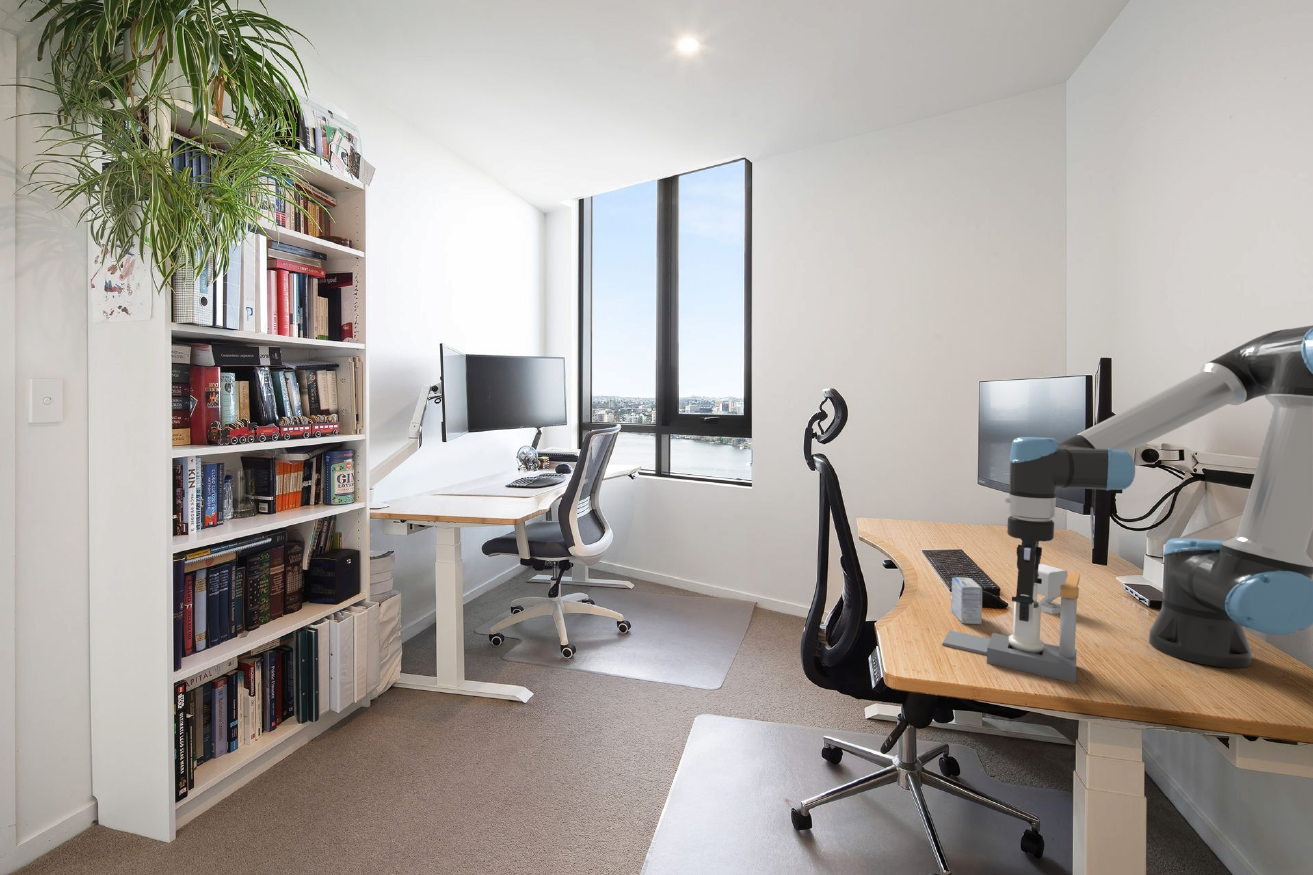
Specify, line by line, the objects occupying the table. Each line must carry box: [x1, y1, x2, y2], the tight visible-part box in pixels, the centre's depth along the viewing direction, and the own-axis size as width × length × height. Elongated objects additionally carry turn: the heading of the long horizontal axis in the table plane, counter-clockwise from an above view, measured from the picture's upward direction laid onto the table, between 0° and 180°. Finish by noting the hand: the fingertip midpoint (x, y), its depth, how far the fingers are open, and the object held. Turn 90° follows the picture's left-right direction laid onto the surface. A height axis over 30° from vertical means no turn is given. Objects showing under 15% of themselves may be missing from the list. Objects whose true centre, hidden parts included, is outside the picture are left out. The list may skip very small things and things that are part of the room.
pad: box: [942, 630, 991, 656], centre depth 121 cm, size 8×8×1 cm
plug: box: [1008, 600, 1044, 655], centre depth 112 cm, size 6×6×12 cm
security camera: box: [1034, 563, 1069, 615], centre depth 142 cm, size 6×7×10 cm
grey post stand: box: [986, 596, 1078, 684], centre depth 111 cm, size 14×9×14 cm, turn 54°
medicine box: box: [950, 576, 983, 626], centre depth 135 cm, size 8×4×9 cm, turn 168°
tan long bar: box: [1060, 571, 1081, 600], centre depth 113 cm, size 14×3×4 cm, turn 141°
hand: (1025, 625), depth 112 cm, fingers open, 13 cm apart
